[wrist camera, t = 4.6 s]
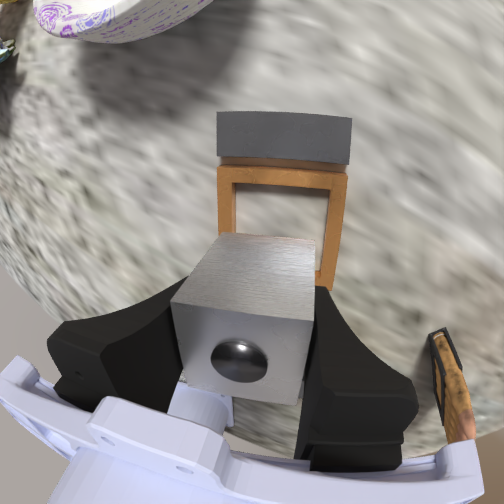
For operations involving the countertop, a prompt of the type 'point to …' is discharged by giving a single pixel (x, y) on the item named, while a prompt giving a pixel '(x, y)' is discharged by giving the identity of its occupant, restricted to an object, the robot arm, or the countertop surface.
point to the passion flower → (6, 49)
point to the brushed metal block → (248, 317)
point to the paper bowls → (113, 18)
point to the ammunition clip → (451, 389)
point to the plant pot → (7, 1)
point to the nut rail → (286, 147)
